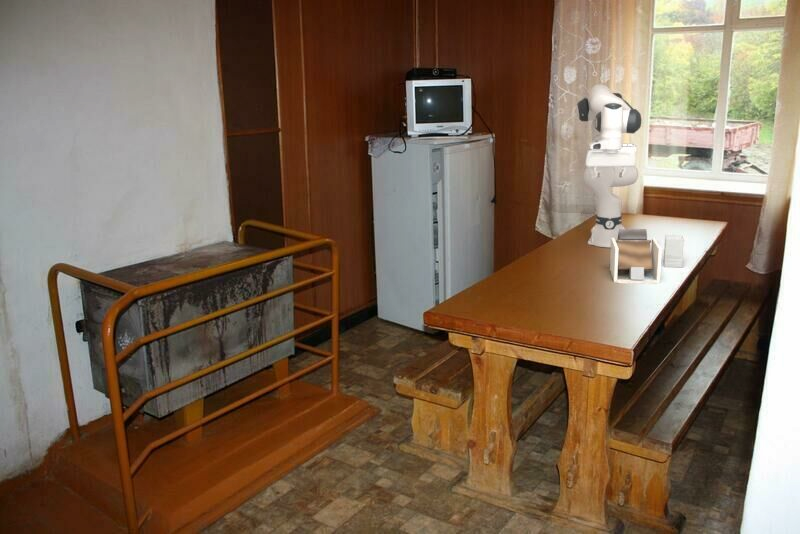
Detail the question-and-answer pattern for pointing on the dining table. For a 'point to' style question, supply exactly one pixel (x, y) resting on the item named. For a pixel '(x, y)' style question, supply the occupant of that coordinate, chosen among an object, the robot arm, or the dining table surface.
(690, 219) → the dining table surface
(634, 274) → the light grey cube
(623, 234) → the trapdoor
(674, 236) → the supplement box
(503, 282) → the dining table surface
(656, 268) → the frame
